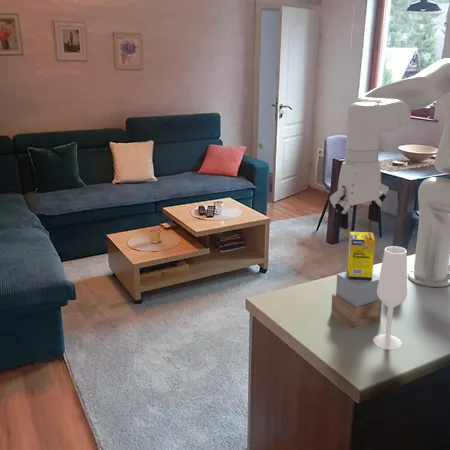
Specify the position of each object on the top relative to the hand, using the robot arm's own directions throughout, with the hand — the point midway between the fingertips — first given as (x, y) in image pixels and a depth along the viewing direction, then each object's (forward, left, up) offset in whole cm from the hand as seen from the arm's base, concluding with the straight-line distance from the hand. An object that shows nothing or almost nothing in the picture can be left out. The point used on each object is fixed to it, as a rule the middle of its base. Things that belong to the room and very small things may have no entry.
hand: (358, 224), depth 122 cm
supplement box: (-1, 0, -15) cm, 15 cm away
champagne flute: (0, +13, -26) cm, 30 cm away
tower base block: (-1, 0, -26) cm, 26 cm away
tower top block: (-1, 0, -20) cm, 20 cm away
